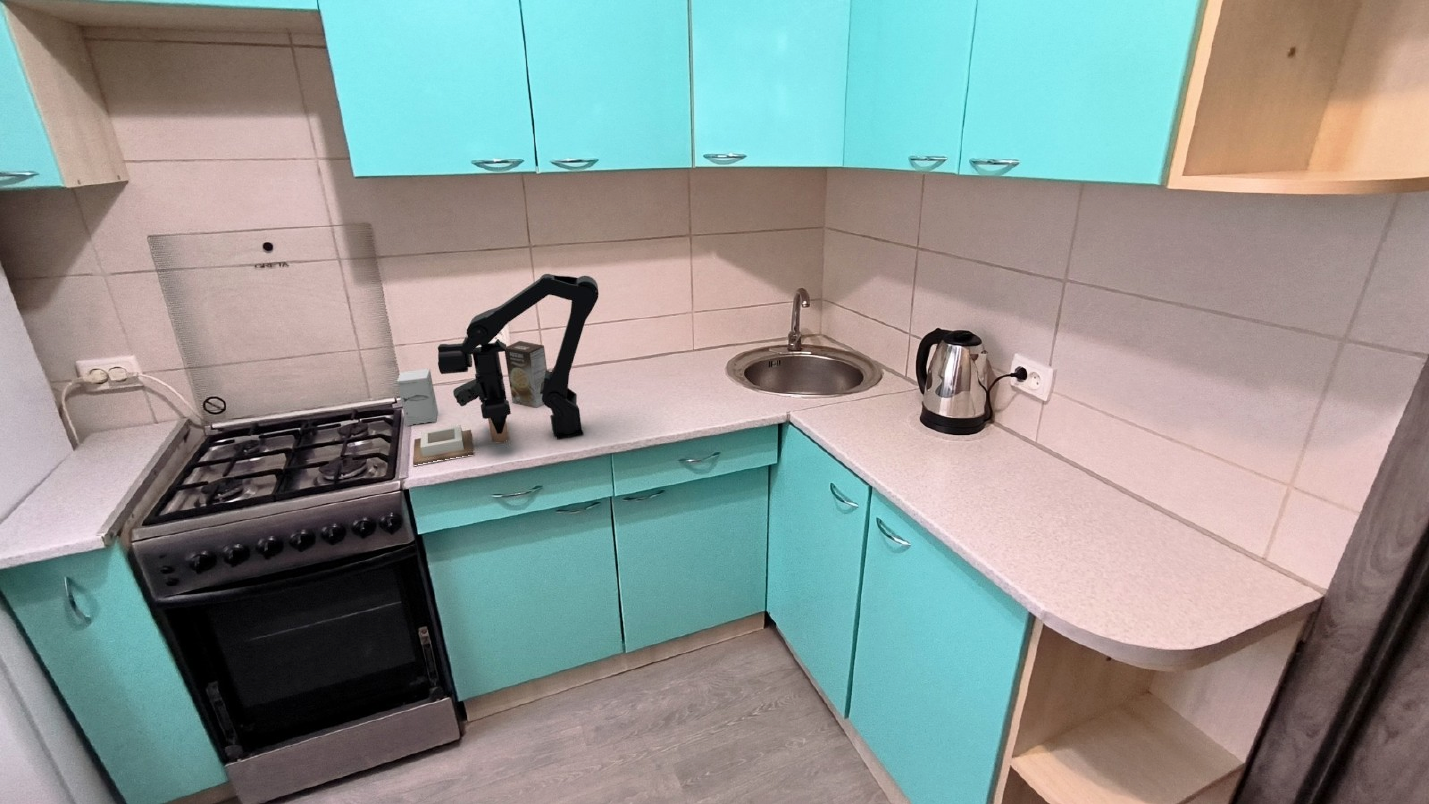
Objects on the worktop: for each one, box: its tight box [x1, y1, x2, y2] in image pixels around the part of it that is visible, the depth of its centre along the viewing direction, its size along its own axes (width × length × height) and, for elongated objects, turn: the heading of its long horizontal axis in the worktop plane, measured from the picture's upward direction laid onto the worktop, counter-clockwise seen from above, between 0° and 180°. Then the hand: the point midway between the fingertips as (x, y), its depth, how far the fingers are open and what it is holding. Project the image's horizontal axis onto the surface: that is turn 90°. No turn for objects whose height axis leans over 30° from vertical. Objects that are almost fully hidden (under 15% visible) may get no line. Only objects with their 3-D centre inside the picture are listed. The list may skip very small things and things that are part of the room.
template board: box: [412, 424, 475, 466], centre depth 159 cm, size 13×13×4 cm
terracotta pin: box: [487, 418, 510, 443], centre depth 162 cm, size 4×4×8 cm
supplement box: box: [396, 368, 439, 427], centre depth 174 cm, size 7×7×13 cm
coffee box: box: [504, 340, 548, 408], centre depth 182 cm, size 9×6×16 cm
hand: (499, 429), depth 163 cm, fingers closed on terracotta pin, 4 cm apart
